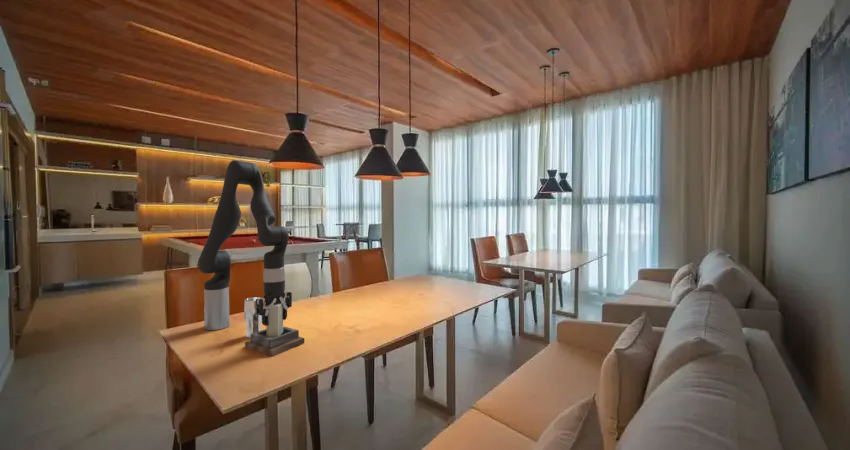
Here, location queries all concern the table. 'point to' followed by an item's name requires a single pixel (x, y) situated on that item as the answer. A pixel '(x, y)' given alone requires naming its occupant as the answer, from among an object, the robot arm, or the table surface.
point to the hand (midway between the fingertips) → (274, 322)
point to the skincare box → (275, 321)
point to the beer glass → (252, 316)
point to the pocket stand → (274, 341)
